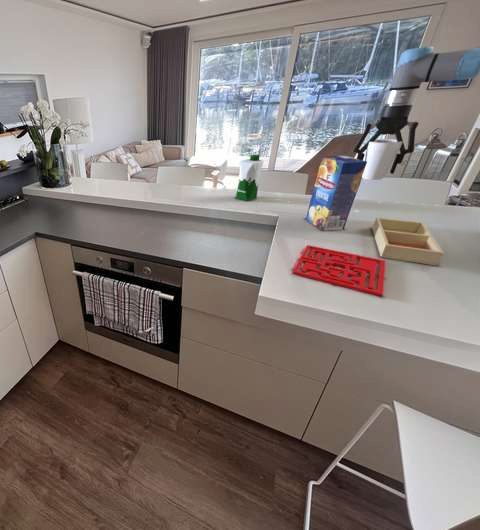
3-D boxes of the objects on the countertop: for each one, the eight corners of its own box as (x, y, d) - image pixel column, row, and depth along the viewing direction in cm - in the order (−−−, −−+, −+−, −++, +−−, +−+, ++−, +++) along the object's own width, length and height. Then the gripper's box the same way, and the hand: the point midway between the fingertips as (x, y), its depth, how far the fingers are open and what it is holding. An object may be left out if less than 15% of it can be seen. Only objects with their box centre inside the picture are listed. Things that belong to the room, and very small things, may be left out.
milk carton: (259, 198, 142) (266, 155, 132) (247, 202, 138) (254, 158, 128) (244, 194, 148) (250, 153, 138) (232, 198, 144) (237, 156, 134)
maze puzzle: (306, 246, 96) (307, 244, 95) (384, 262, 84) (385, 260, 84) (292, 273, 83) (292, 271, 82) (381, 296, 71) (382, 294, 71)
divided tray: (417, 233, 98) (423, 222, 96) (436, 265, 81) (443, 252, 79) (371, 228, 104) (376, 217, 102) (380, 257, 87) (385, 245, 85)
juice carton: (343, 229, 105) (367, 161, 93) (322, 230, 106) (343, 163, 94) (324, 217, 116) (343, 155, 103) (305, 218, 116) (322, 156, 104)
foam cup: (357, 174, 115) (368, 139, 108) (387, 175, 110) (401, 139, 103) (356, 179, 108) (368, 142, 102) (388, 181, 103) (403, 143, 97)
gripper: (358, 107, 100) (338, 173, 111) (447, 102, 89) (415, 176, 100) (356, 106, 105) (338, 168, 116) (440, 101, 94) (411, 171, 105)
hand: (374, 172), depth 108 cm, fingers closed on foam cup, 9 cm apart
